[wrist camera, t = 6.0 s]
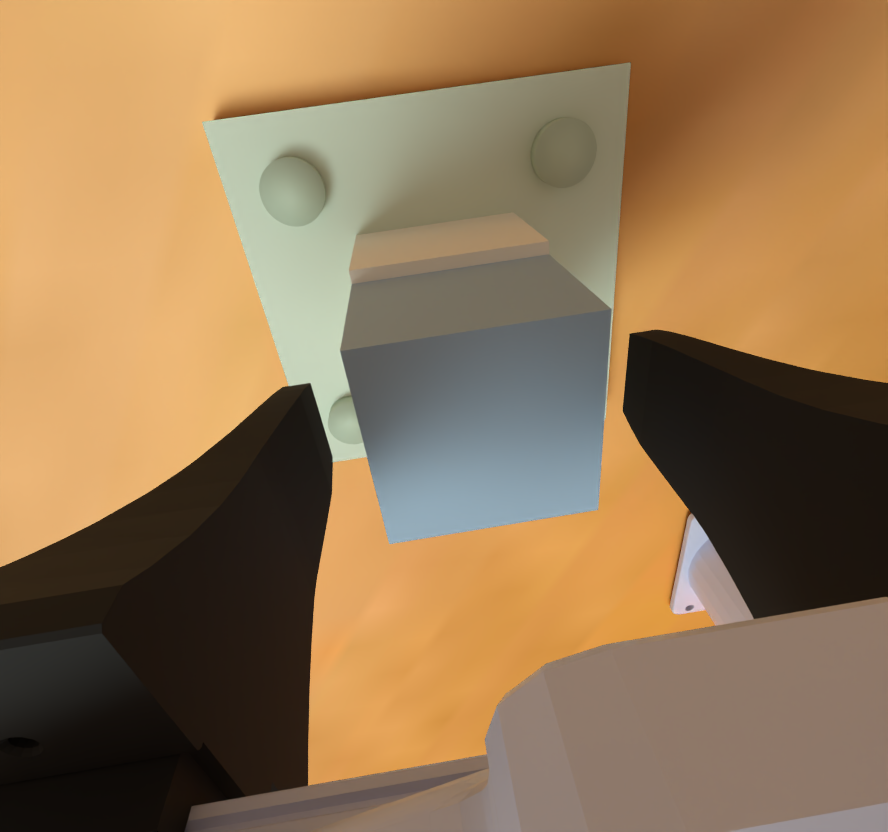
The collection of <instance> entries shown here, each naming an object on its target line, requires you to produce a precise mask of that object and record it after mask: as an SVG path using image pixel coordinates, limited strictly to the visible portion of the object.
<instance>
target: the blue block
mask: <svg viewBox="0 0 888 832" xmlns="http://www.w3.org/2000/svg"><path fill="white" fill-rule="evenodd" d="M611 311H612V309H611V308H610V307H609V306H608V305H606V304H605V303H604V302H603V301H602V300H601V299H600V298H598V297H597V296H596V295H595V294H594V293H593V292H592V291H590V290H589V289H588V288H587V287H586V286H585V285H584V284H582V283H581V282H580V281H579V280H578V279H577V278H576V277H574V276H573V275H572V274H571V273H570V272H569V271H568V270H567V269H565V268H564V267H563V266H562V265H561V264H560V263H559V262H557V261H556V260H555V259H554V258H553V257H552V256H551V255H549V254H548V255H541V256H535V257H528V258H522V259H515V260H508V261H502V262H495V263H488V264H482V265H475V266H468V267H462V268H455V269H449V270H442V271H435V272H429V273H422V274H415V275H409V276H402V277H395V278H389V279H382V280H376V281H369V282H362V283H356V284H352V285H351V291H350V297H349V303H348V308H347V314H346V320H345V325H344V331H343V337H342V342H341V348H340V353H341V357H342V361H343V365H344V369H345V373H346V376H347V380H348V384H349V388H350V392H351V396H352V400H353V404H354V408H355V412H356V416H357V419H358V423H359V427H360V431H361V435H362V439H363V443H364V447H365V451H366V455H367V459H368V462H369V466H370V470H371V474H372V478H373V482H374V486H375V490H376V494H377V498H378V502H379V505H380V509H381V513H382V517H383V521H384V525H385V529H386V533H387V537H388V541H389V544H393V543H399V542H405V541H411V540H417V539H423V538H429V537H435V536H442V535H448V534H454V533H460V532H466V531H472V530H478V529H484V528H490V527H496V526H502V525H508V524H515V523H521V522H527V521H533V520H539V519H545V518H551V517H557V516H563V515H569V514H575V513H581V512H587V511H594V510H598V504H599V489H600V474H601V459H602V445H603V430H604V415H605V400H606V385H607V370H608V355H609V341H610V326H611Z"/></svg>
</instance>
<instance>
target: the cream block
mask: <svg viewBox="0 0 888 832" xmlns="http://www.w3.org/2000/svg"><path fill="white" fill-rule="evenodd" d="M548 254H549V241H548V240H547V239H546V238H545V237H543V236H542V235H541V234H540V233H538V232H537V231H536V230H535V229H533V228H532V227H531V226H530V225H528V224H527V223H526V222H525V221H523V220H522V219H521V218H520V217H518V216H517V215H516V214H515V213H513V212H511V213H504V214H497V215H490V216H484V217H477V218H470V219H463V220H456V221H449V222H443V223H436V224H429V225H422V226H415V227H408V228H402V229H395V230H388V231H381V232H374V233H367V234H361V235H356V238H355V243H354V247H353V252H352V257H351V262H350V267H349V275H350V279H351V284H356V283H362V282H369V281H376V280H382V279H389V278H395V277H402V276H409V275H415V274H422V273H429V272H435V271H442V270H449V269H455V268H462V267H468V266H475V265H482V264H488V263H495V262H502V261H508V260H515V259H522V258H528V257H535V256H541V255H548Z"/></svg>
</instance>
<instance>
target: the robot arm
mask: <svg viewBox="0 0 888 832" xmlns="http://www.w3.org/2000/svg"><path fill="white" fill-rule="evenodd" d="M623 413H624V415H625V417H626V419H627V421H628V423H629V425H630V427H631V429H632V430H633V432H634V434H635V436H636V438H637V440H638V441H639V443H640V445H641V446H642V448H643V449H644V450H645V452H646V453H647V455H648V456H649V457H650V459H651V460H652V461H653V463H654V464H655V465H656V467H657V468H658V469H659V471H660V472H661V473H662V475H663V476H664V477H665V479H666V480H667V481H668V483H669V484H670V485H671V487H672V488H673V489H674V490H675V492H676V493H677V494H678V496H679V497H680V498H681V500H682V501H683V502H684V504H685V505H686V506H687V508H688V509H689V510H690V512H691V514H690V515H689V517H688V519H687V524H686V529H685V534H684V539H683V543H682V548H681V553H680V558H679V563H678V568H677V573H676V578H675V582H674V587H673V592H672V597H671V602H670V609H671V610H672V612H673V613H674V614H684V613H690V612H696V611H702V610H706V611H707V613H708V614H709V616H710V617H711V619H712V621H713V622H714V624H715V625H716V626H711V627H705V628H700V629H694V630H688V631H682V632H676V633H670V634H664V635H658V636H653V637H647V638H641V639H635V640H629V641H623V642H617V643H612V644H606V645H602V646H599V647H596V648H593V649H590V650H587V651H584V652H581V653H577V654H574V655H571V656H568V657H565V658H562V659H559V660H556V661H553V662H550V663H547V664H545V665H544V666H542V667H541V668H540V669H538V670H537V671H536V672H534V673H533V674H532V675H530V676H529V677H528V678H526V679H525V680H524V681H522V682H521V683H520V684H518V685H517V686H516V687H514V688H513V689H512V690H510V691H509V692H508V693H506V694H505V696H504V697H503V698H502V700H501V701H500V702H499V704H498V705H497V707H496V710H495V713H494V716H493V718H492V721H491V724H490V727H489V729H488V732H487V735H486V738H485V744H486V751H487V754H486V755H481V756H475V757H469V758H464V759H458V760H452V761H446V762H441V763H435V764H429V765H424V766H418V767H412V768H407V769H401V770H395V771H389V772H384V773H378V774H372V775H367V776H361V777H355V778H349V779H344V780H338V781H332V782H327V783H321V784H315V785H310V786H308V726H309V686H310V664H311V641H312V625H313V610H314V596H315V588H316V580H317V574H318V569H319V563H320V557H321V552H322V546H323V541H324V535H325V530H326V524H327V518H328V513H329V507H330V501H331V495H332V468H333V456H332V453H331V450H330V446H329V443H328V440H327V436H326V433H325V430H324V426H323V423H322V420H321V416H320V413H319V410H318V406H317V403H316V400H315V396H314V393H313V390H312V386H311V383H306V384H300V385H293V386H287V387H282V388H281V389H279V390H278V391H277V392H275V393H274V394H273V395H272V396H271V397H269V398H268V399H267V400H266V401H265V402H264V403H263V404H262V405H260V406H259V407H258V408H257V409H256V410H255V411H254V412H253V413H252V414H250V415H249V416H248V417H247V418H246V419H245V420H244V421H243V422H241V423H240V424H239V425H238V426H237V427H236V428H235V429H234V430H232V431H231V432H230V433H229V434H228V435H226V436H225V437H224V438H223V439H221V440H220V441H219V442H218V443H217V444H215V445H214V446H213V447H212V448H210V449H209V450H208V451H207V452H205V453H204V454H203V455H202V456H200V457H199V458H198V459H197V460H195V461H194V462H193V463H191V464H190V465H189V466H187V467H186V468H184V469H183V470H182V471H180V472H179V473H177V474H176V475H174V476H173V477H171V478H170V479H168V480H167V481H165V482H164V483H162V484H161V485H159V486H158V487H156V488H155V489H153V490H152V491H150V492H148V493H147V494H145V495H143V496H142V497H140V498H138V499H136V500H135V501H133V502H131V503H129V504H128V505H126V506H124V507H122V508H121V509H119V510H117V511H115V512H114V513H112V514H110V515H108V516H107V517H105V518H103V519H101V520H100V521H98V522H96V523H94V524H92V525H90V526H88V527H86V528H84V529H82V530H80V531H78V532H76V533H74V534H72V535H70V536H68V537H66V538H64V539H62V540H60V541H58V542H56V543H54V544H52V545H49V546H47V547H45V548H43V549H41V550H39V551H37V552H35V553H32V554H30V555H28V556H26V557H23V558H21V559H19V560H17V561H14V562H12V563H10V564H7V565H5V566H2V567H0V832H888V383H883V382H876V381H869V380H863V379H857V378H852V377H846V376H841V375H836V374H830V373H825V372H820V371H815V370H810V369H806V368H801V367H797V366H793V365H789V364H785V363H781V362H777V361H773V360H769V359H765V358H762V357H758V356H754V355H751V354H747V353H744V352H740V351H737V350H733V349H730V348H726V347H723V346H720V345H716V344H713V343H710V342H706V341H703V340H699V339H696V338H693V337H689V336H685V335H681V334H678V333H673V332H669V331H663V330H651V331H645V332H638V333H631V334H630V337H629V348H628V359H627V370H626V381H625V391H624V402H623Z"/></svg>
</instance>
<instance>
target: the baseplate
mask: <svg viewBox="0 0 888 832" xmlns="http://www.w3.org/2000/svg"><path fill="white" fill-rule="evenodd" d="M630 68H631V62H630V63H622V64H615V65H608V66H601V67H594V68H586V69H579V70H572V71H565V72H558V73H550V74H543V75H536V76H529V77H522V78H515V79H507V80H500V81H493V82H486V83H479V84H471V85H464V86H457V87H450V88H443V89H435V90H428V91H421V92H414V93H407V94H399V95H392V96H385V97H378V98H371V99H364V100H356V101H349V102H342V103H335V104H328V105H320V106H313V107H306V108H299V109H292V110H284V111H277V112H270V113H263V114H256V115H248V116H241V117H234V118H227V119H220V120H212V121H205V122H202V123H203V126H204V130H205V133H206V136H207V139H208V142H209V145H210V148H211V151H212V154H213V157H214V160H215V163H216V166H217V169H218V172H219V175H220V178H221V181H222V184H223V187H224V190H225V193H226V196H227V199H228V202H229V206H230V209H231V212H232V215H233V218H234V221H235V224H236V227H237V230H238V233H239V236H240V239H241V242H242V245H243V248H244V251H245V254H246V257H247V260H248V263H249V266H250V269H251V272H252V275H253V278H254V282H255V285H256V288H257V291H258V294H259V297H260V300H261V303H262V306H263V309H264V312H265V315H266V318H267V321H268V324H269V327H270V330H271V333H272V336H273V339H274V342H275V345H276V348H277V351H278V354H279V358H280V361H281V364H282V367H283V370H284V373H285V376H286V379H287V382H288V385H289V386H293V385H300V384H306V383H311V386H312V390H313V393H314V396H315V400H316V403H317V406H318V410H319V413H320V416H321V420H322V423H323V426H324V430H325V433H326V436H327V440H328V443H329V446H330V450H331V453H332V456H333V462H338V461H344V460H350V459H357V458H363V457H367V455H366V451H365V447H364V443H363V439H362V435H361V431H360V427H359V423H358V419H357V416H356V412H355V408H354V404H353V400H352V396H351V392H350V388H349V384H348V380H347V376H346V373H345V369H344V365H343V361H342V357H341V353H340V348H341V342H342V337H343V331H344V325H345V320H346V314H347V308H348V303H349V297H350V291H351V285H352V284H351V279H350V275H349V267H350V262H351V257H352V252H353V247H354V243H355V238H356V235H361V234H367V233H374V232H381V231H388V230H395V229H402V228H408V227H415V226H422V225H429V224H436V223H443V222H449V221H456V220H463V219H470V218H477V217H484V216H490V215H497V214H504V213H511V212H513V213H515V214H516V215H517V216H518V217H520V218H521V219H522V220H523V221H525V222H526V223H527V224H528V225H530V226H531V227H532V228H533V229H535V230H536V231H537V232H538V233H540V234H541V235H542V236H543V237H545V238H546V239H547V240H548V241H549V255H551V256H552V257H553V258H554V259H555V260H556V261H557V262H559V263H560V264H561V265H562V266H563V267H564V268H565V269H567V270H568V271H569V272H570V273H571V274H572V275H573V276H574V277H576V278H577V279H578V280H579V281H580V282H581V283H582V284H584V285H585V286H586V287H587V288H588V289H589V290H590V291H592V292H593V293H594V294H595V295H596V296H597V297H598V298H600V299H601V300H602V301H603V302H604V303H605V304H606V305H608V306H609V307H610V308H611V309H612V311H611V326H610V341H609V355H608V370H607V385H606V400H605V415H604V419H606V405H607V391H608V377H609V363H610V349H611V335H612V321H613V307H614V293H615V279H616V265H617V251H618V237H619V223H620V209H621V195H622V181H623V166H624V152H625V138H626V124H627V110H628V96H629V82H630Z"/></svg>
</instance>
